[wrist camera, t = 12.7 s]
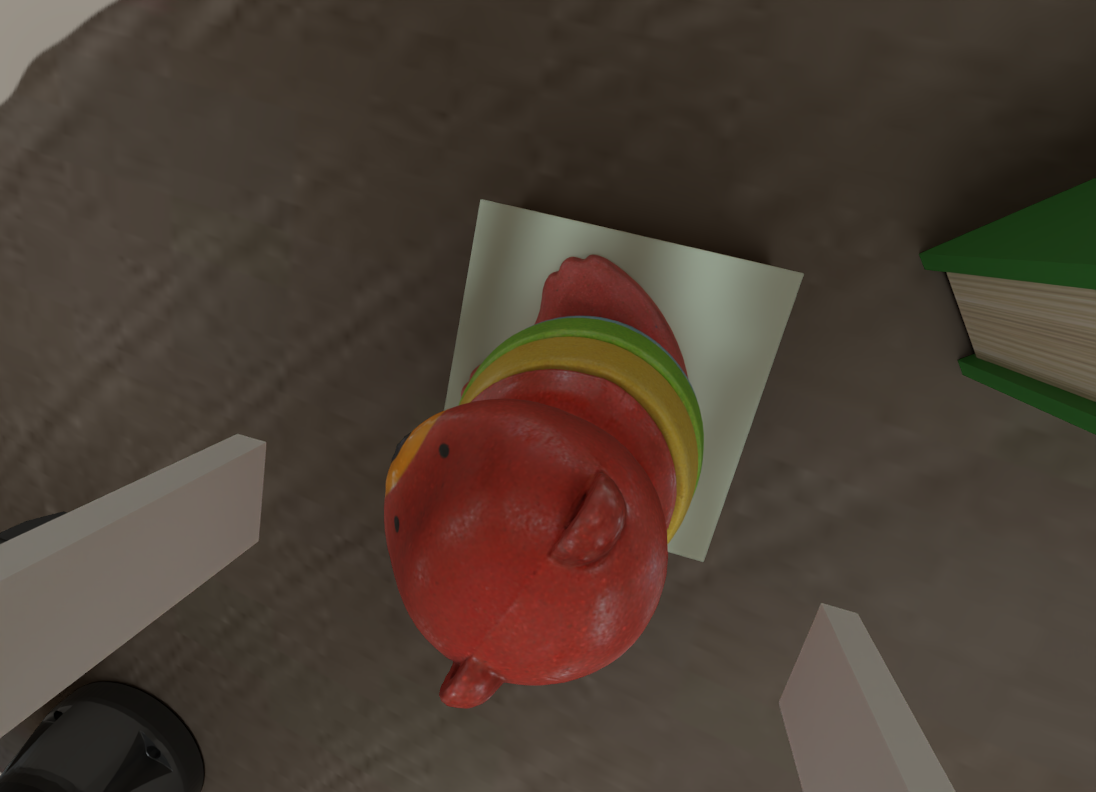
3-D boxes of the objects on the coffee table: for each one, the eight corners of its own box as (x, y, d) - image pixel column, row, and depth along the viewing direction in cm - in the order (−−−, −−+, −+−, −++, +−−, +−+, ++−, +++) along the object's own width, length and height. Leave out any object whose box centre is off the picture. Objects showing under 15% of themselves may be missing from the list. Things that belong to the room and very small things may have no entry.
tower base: (475, 434, 39) (431, 482, 31) (519, 207, 35) (480, 199, 27) (694, 496, 37) (703, 562, 30) (770, 265, 33) (804, 273, 25)
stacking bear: (582, 234, 27) (450, 228, 10) (747, 376, 27) (897, 611, 10) (449, 401, 30) (179, 612, 13) (596, 525, 30) (519, 889, 13)
